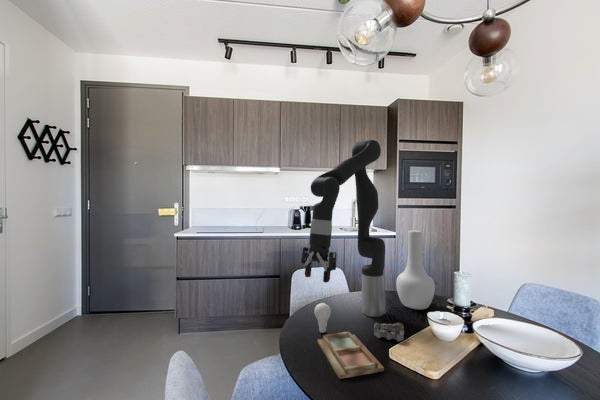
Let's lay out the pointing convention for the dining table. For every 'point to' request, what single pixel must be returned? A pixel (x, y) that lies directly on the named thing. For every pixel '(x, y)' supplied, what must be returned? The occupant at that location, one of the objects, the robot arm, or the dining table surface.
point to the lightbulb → (322, 316)
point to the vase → (415, 277)
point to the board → (348, 355)
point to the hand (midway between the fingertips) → (316, 279)
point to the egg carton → (389, 327)
